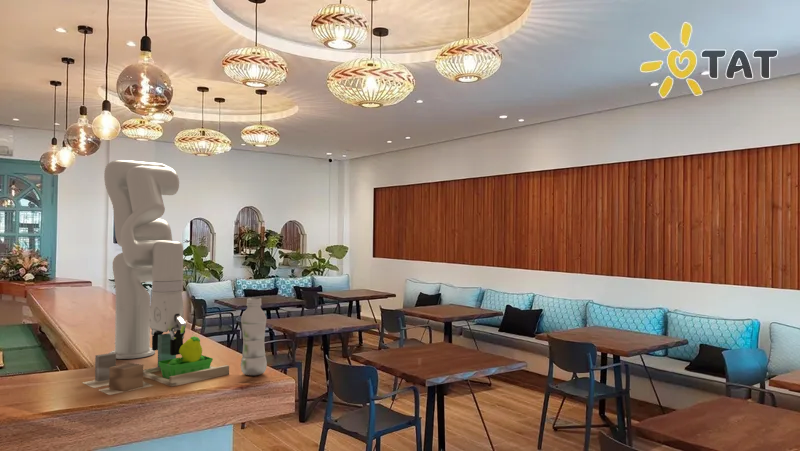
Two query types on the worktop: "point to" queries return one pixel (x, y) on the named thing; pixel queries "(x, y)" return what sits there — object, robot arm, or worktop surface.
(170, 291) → the robot arm
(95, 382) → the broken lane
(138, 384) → the walnut cube
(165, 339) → the wooden serving tray
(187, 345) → the fruit basket
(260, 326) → the plastic bottle
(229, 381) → the worktop surface
